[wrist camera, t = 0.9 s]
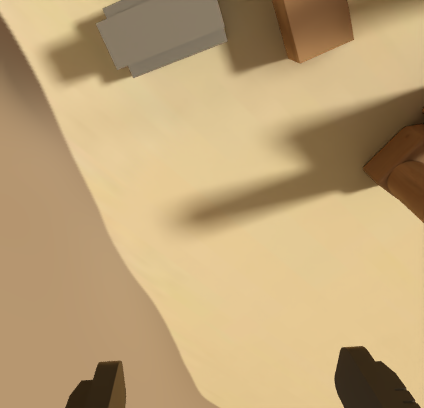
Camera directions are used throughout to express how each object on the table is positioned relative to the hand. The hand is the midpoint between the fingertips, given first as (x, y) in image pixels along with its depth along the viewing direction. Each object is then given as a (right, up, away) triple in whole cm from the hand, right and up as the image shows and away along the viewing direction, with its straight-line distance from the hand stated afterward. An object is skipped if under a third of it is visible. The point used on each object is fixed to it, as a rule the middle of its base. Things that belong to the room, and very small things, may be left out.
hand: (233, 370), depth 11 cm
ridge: (-4, +21, +14) cm, 26 cm away
